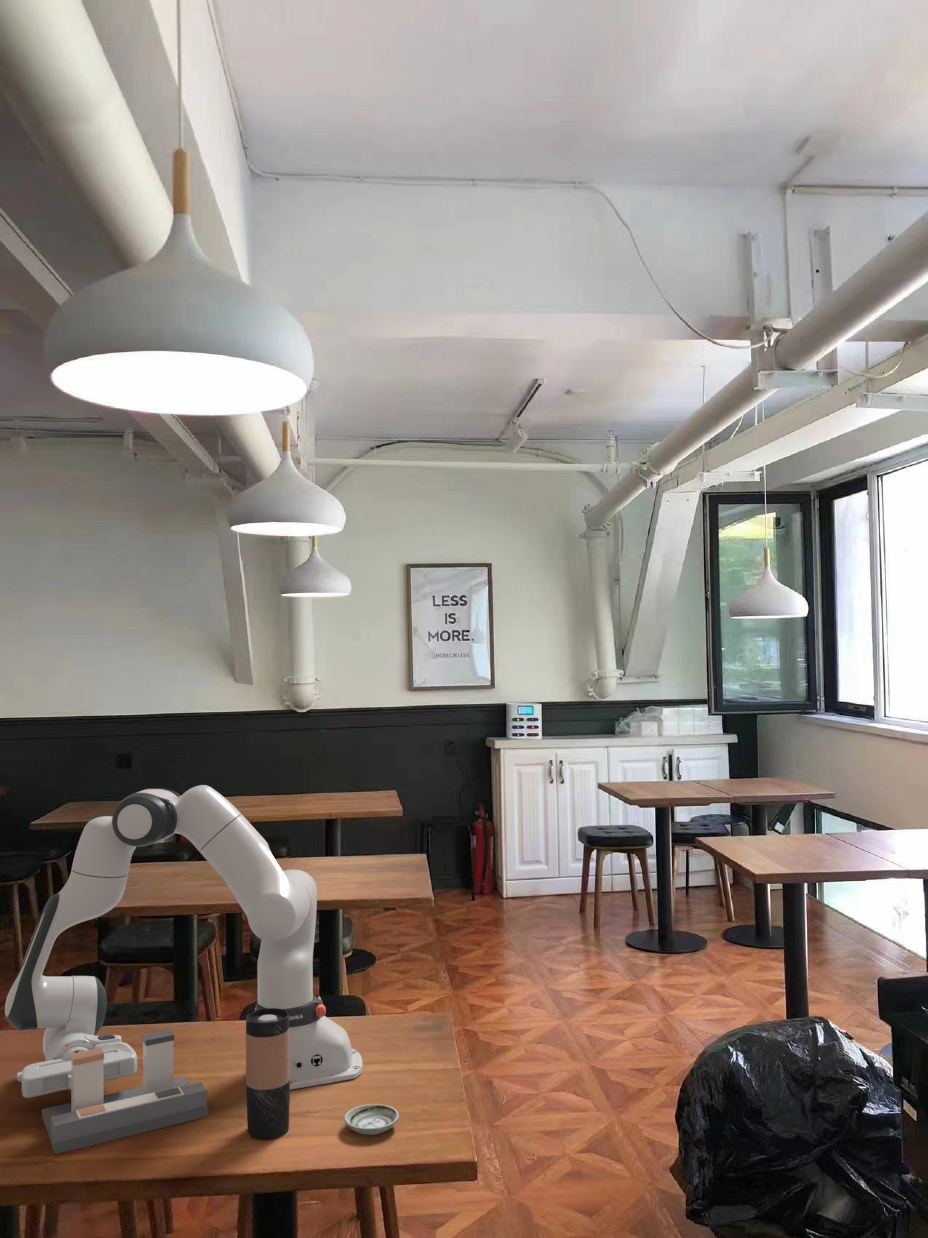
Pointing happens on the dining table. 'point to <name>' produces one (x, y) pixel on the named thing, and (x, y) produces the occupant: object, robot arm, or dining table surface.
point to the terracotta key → (87, 1079)
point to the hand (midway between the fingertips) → (86, 1086)
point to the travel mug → (267, 1073)
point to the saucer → (371, 1118)
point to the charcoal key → (158, 1061)
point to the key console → (124, 1115)
